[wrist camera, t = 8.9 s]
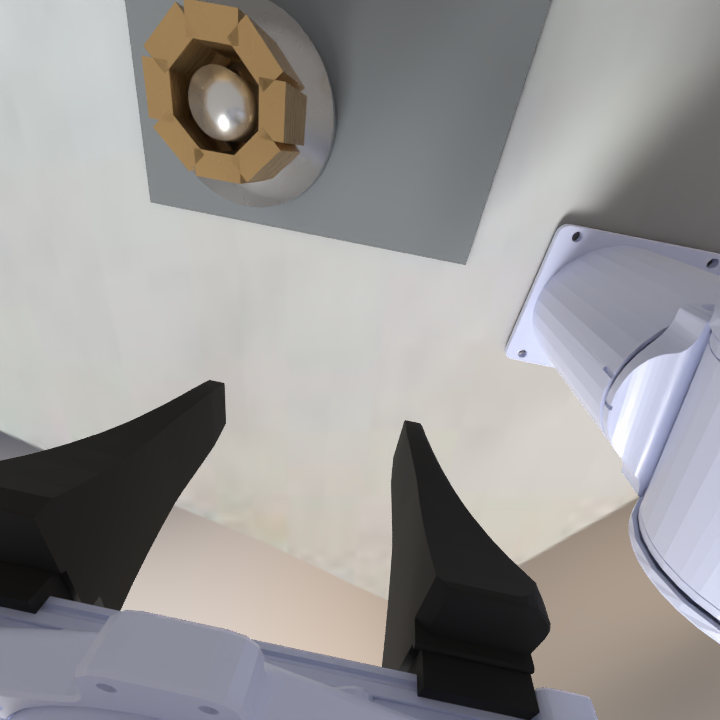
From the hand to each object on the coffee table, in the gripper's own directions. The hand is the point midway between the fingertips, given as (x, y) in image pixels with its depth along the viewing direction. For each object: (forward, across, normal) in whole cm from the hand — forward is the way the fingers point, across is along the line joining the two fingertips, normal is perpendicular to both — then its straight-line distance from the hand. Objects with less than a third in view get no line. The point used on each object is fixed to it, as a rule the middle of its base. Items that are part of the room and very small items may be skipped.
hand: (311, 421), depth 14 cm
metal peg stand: (+10, +6, -10) cm, 15 cm away
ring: (+8, +6, -10) cm, 14 cm away
